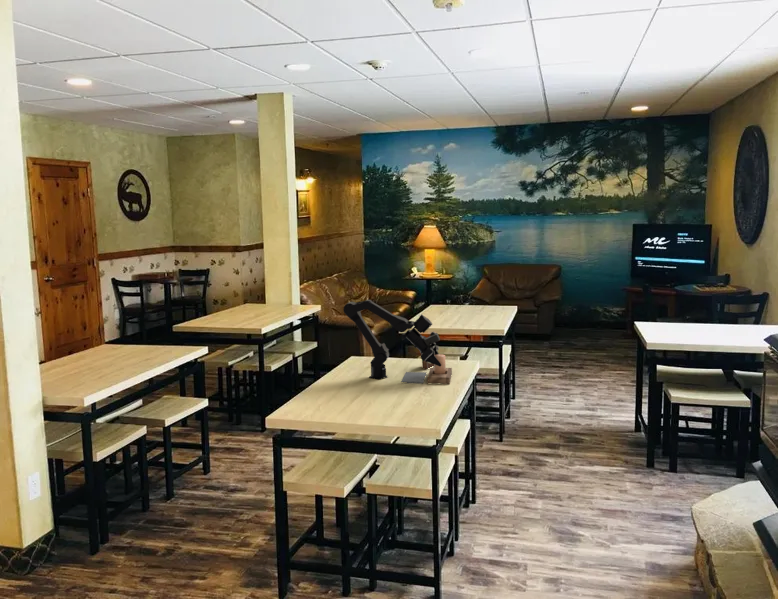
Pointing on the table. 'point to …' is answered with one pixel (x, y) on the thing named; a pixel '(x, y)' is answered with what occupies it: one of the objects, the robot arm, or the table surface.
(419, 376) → the mat
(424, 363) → the food container
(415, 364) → the table surface
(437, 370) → the pink tall rounded piece
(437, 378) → the well block
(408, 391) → the table surface
